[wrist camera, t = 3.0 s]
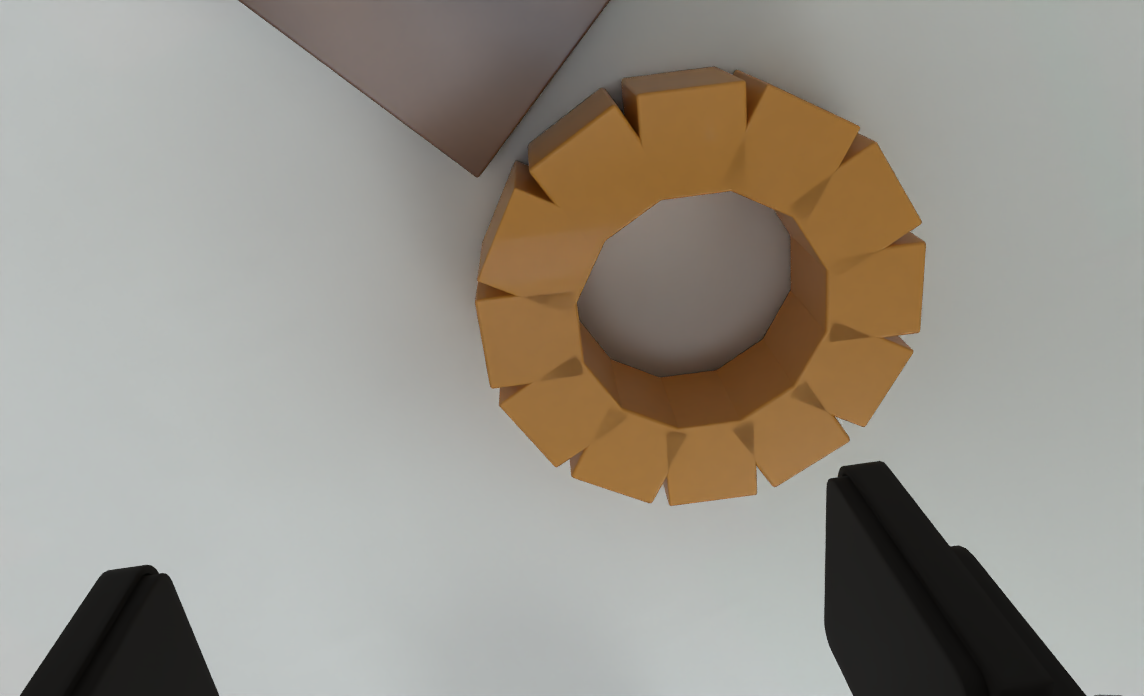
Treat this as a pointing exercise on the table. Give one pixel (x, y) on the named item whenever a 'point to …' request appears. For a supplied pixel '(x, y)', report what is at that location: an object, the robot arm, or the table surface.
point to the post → (442, 59)
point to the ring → (758, 375)
